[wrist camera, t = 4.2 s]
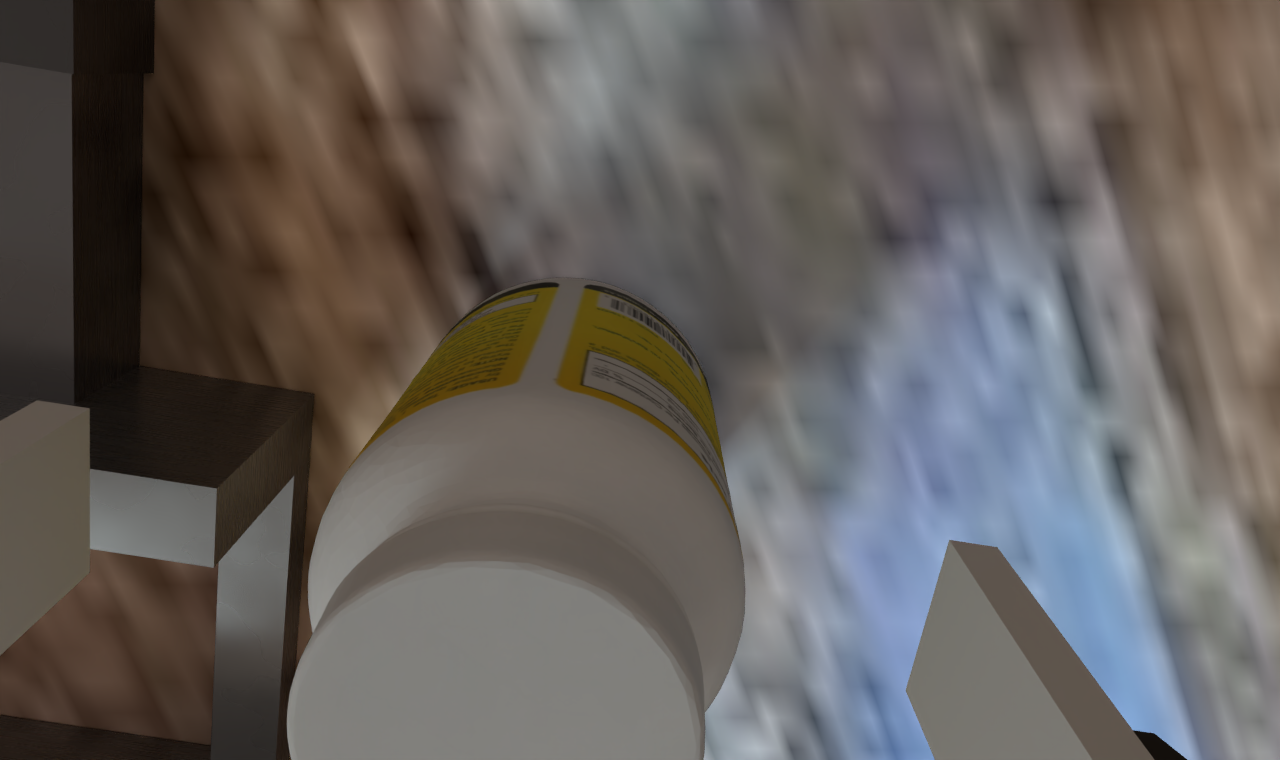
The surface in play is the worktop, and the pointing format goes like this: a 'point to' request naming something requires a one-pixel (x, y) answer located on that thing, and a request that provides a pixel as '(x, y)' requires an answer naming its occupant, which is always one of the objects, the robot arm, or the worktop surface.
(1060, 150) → the worktop surface
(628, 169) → the worktop surface
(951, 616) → the robot arm
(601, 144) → the worktop surface
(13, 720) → the bracket
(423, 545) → the pill bottle
